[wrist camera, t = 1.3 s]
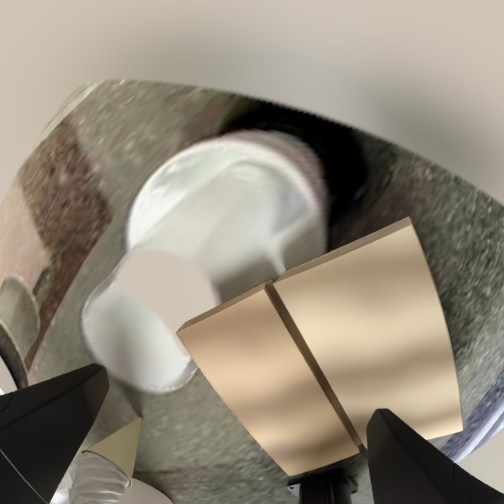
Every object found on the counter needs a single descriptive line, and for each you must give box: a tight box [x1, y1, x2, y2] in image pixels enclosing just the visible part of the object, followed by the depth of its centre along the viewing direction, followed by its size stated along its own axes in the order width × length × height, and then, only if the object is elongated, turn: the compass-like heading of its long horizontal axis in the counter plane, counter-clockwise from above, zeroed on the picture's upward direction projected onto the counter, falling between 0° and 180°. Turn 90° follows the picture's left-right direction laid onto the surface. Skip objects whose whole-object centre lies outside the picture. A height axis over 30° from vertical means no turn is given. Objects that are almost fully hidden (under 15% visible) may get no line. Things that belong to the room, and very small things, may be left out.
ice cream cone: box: [69, 417, 143, 504], centre depth 16 cm, size 5×5×15 cm
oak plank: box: [273, 216, 463, 449], centre depth 16 cm, size 18×9×2 cm, turn 30°
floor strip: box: [176, 279, 362, 476], centre depth 20 cm, size 18×8×2 cm, turn 30°
